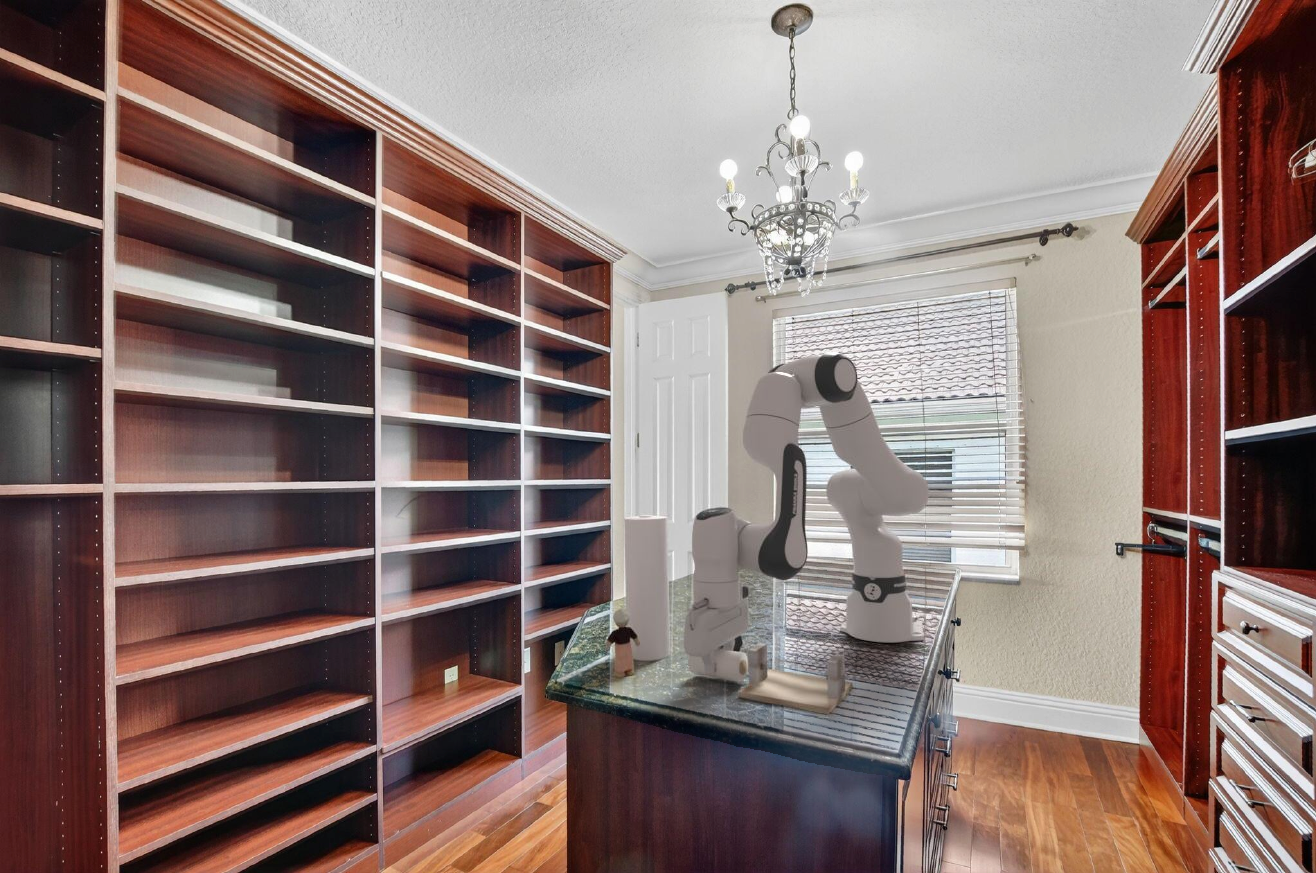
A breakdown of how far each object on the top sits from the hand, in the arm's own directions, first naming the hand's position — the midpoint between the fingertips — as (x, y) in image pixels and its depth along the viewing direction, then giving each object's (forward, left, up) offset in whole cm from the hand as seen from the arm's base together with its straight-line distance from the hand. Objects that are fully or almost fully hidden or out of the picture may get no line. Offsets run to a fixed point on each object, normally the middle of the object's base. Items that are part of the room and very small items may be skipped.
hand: (718, 667), depth 120 cm
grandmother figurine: (+6, -18, -3) cm, 19 cm away
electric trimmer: (-14, -6, -3) cm, 16 cm away
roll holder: (-1, +15, -2) cm, 15 cm away
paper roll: (-1, 0, -1) cm, 2 cm away
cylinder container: (-8, -21, -3) cm, 23 cm away
